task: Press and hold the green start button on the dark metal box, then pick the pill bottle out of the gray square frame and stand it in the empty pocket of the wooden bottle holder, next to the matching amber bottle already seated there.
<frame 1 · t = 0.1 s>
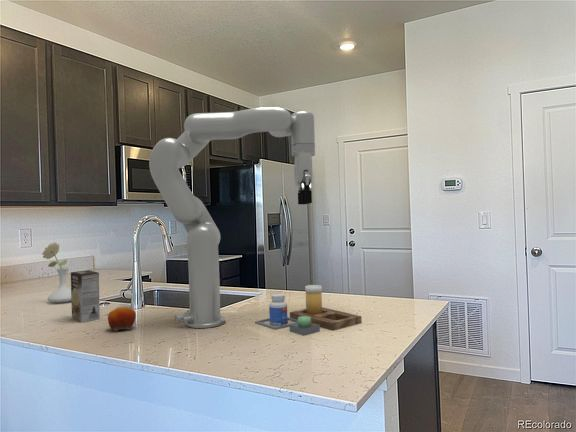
hand: (304, 203, 138), 37 cm above the counter, tool pointing down, fingers open, 9 cm apart
flower in vase: (61, 302, 177), on the counter
button housing: (304, 335, 120), on the counter
seated bottle: (314, 318, 134), point 1 cm above the counter, touching wooden bottle holder
coffee box: (85, 319, 146), on the counter
fruit: (122, 329, 131), on the counter
start button: (304, 321, 119), point 4 cm above the counter, slide at 0.0 cm
pill bottle: (278, 328, 129), resting in gray square frame
wooden bottle holder: (324, 324, 131), on the counter
gray square frame: (278, 327, 129), on the counter
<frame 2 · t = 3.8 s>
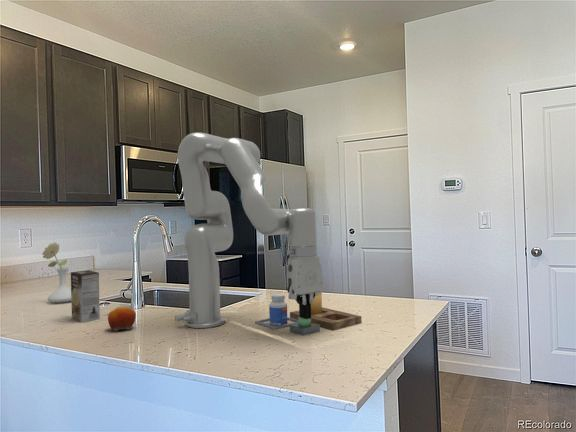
hand: (305, 317, 119), 5 cm above the counter, tool pointing down, fingers closed
start button: (304, 321, 119), point 4 cm above the counter, slide at 0.0 cm, touching button housing, gripper
everything else where it was.
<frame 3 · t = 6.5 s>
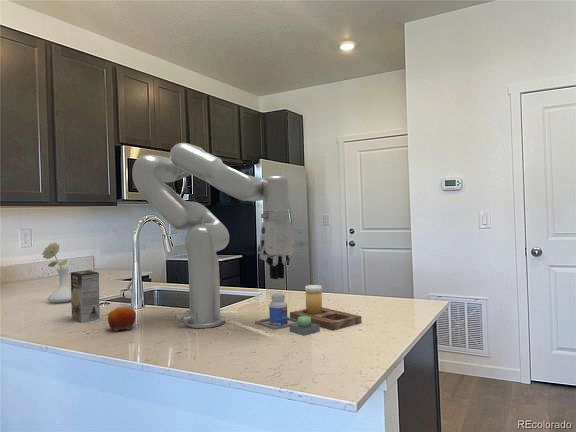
hand: (277, 278, 129), 15 cm above the counter, tool pointing down, fingers closed
start button: (304, 321, 119), point 4 cm above the counter, slide at 0.0 cm, touching button housing
everything else where it was.
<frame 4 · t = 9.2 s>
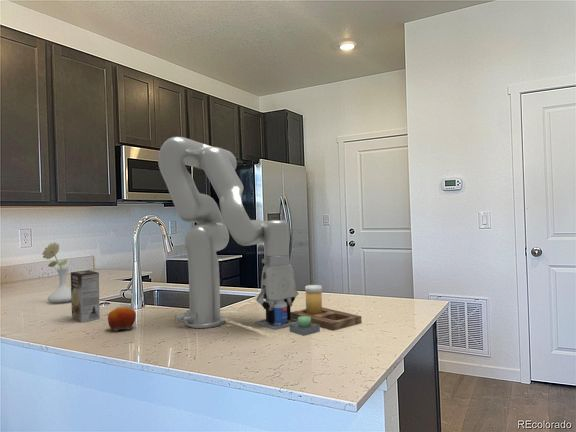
hand: (278, 320, 129), 2 cm above the counter, tool pointing down, fingers closed on pill bottle, 5 cm apart
pill bottle: (278, 327, 129), resting in gray square frame, touching gripper
everything else where it was.
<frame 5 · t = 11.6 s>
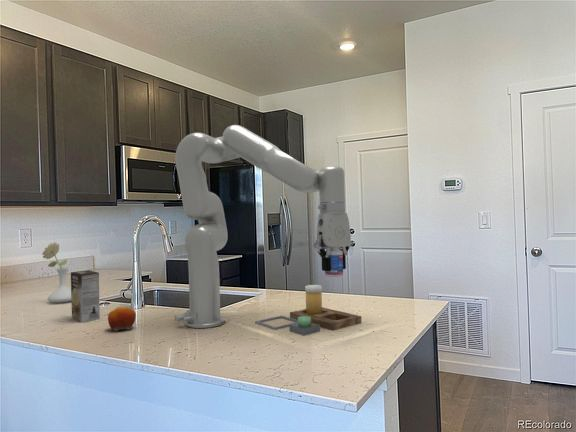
hand: (333, 269, 127), 17 cm above the counter, tool pointing down, fingers closed on pill bottle, 5 cm apart
pill bottle: (334, 276, 127), point 15 cm above the counter, touching gripper
everything else where it was.
when the fingers open (5 cm above the counter, at t = 14.2 s): pill bottle drops 2 cm, resting on wooden bottle holder.
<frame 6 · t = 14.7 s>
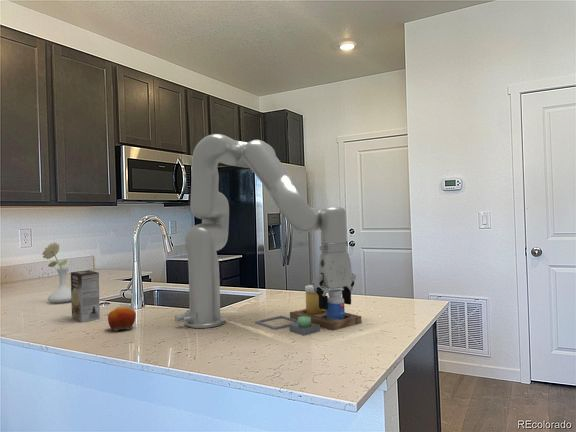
hand: (335, 306, 127), 6 cm above the counter, tool pointing down, fingers open, 9 cm apart
pill bottle: (335, 323, 127), point 1 cm above the counter, touching wooden bottle holder
everything else where it was.
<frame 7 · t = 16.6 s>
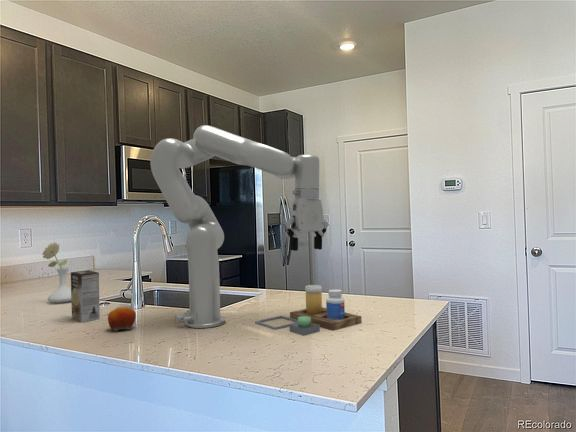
hand: (306, 249, 133), 23 cm above the counter, tool pointing down, fingers open, 9 cm apart
nothing on the counter moved.
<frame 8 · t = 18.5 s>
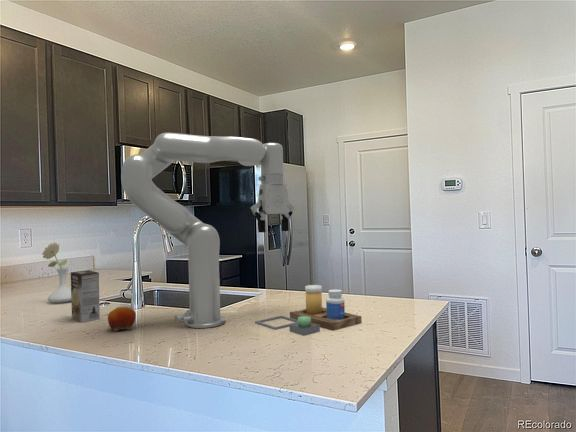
hand: (273, 231, 143), 28 cm above the counter, tool pointing down, fingers open, 9 cm apart
nothing on the counter moved.
at the end: pill bottle 0.3 cm from the target spot on the wooden bottle holder, point 1.0 cm above the wooden bottle holder's base; pill bottle tilted 0°; the gripper is holding nothing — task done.
